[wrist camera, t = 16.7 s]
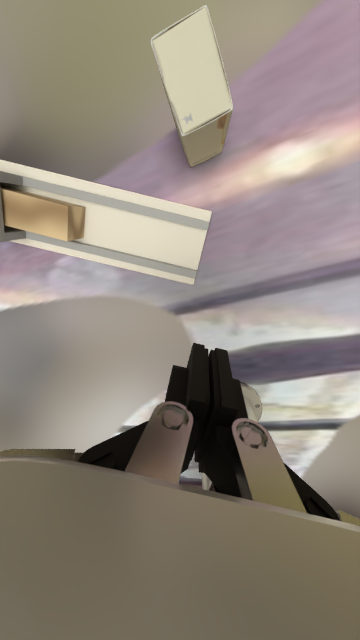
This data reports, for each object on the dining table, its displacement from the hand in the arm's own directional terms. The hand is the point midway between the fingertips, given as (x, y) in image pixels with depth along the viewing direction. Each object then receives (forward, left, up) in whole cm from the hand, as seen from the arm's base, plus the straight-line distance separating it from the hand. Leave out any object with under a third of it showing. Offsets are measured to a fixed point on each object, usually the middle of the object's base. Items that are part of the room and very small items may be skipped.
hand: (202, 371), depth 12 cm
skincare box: (+15, +5, -25) cm, 30 cm away
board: (+2, +16, -25) cm, 30 cm away
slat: (+2, +23, -24) cm, 33 cm away
